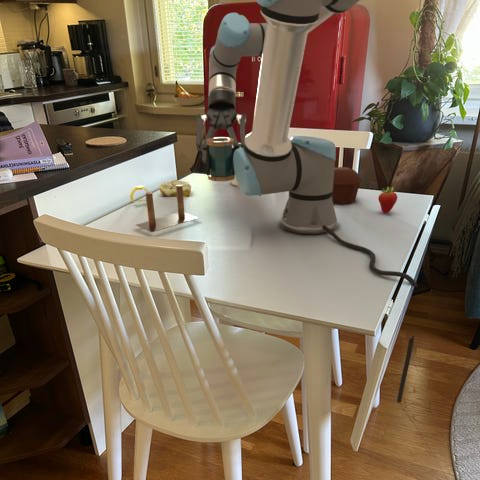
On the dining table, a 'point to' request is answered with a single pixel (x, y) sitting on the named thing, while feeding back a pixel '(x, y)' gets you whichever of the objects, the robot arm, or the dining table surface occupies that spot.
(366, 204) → the dining table surface
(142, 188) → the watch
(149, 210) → the spool stand
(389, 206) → the fruit
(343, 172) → the muffin
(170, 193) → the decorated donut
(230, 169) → the spool
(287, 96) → the robot arm
